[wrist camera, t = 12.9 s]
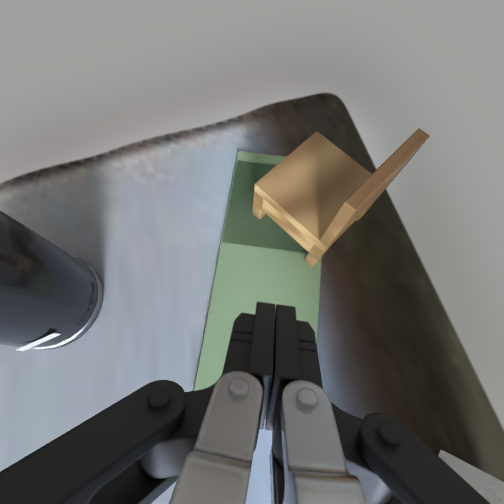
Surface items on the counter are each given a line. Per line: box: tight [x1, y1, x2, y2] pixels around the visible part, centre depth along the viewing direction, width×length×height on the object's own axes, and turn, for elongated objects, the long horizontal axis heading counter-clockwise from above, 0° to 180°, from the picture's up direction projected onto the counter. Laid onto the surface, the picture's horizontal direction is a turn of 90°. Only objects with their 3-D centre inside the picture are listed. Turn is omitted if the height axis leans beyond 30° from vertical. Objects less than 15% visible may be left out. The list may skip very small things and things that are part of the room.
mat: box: [194, 151, 322, 391], centre depth 33 cm, size 11×28×1 cm, turn 172°
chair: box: [252, 129, 429, 267], centre depth 29 cm, size 9×9×13 cm
